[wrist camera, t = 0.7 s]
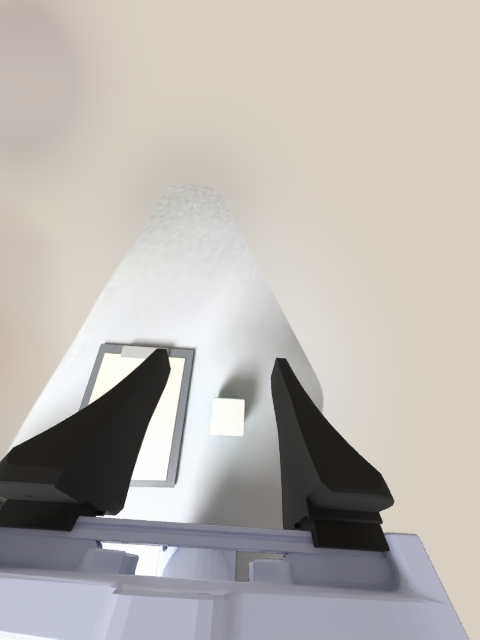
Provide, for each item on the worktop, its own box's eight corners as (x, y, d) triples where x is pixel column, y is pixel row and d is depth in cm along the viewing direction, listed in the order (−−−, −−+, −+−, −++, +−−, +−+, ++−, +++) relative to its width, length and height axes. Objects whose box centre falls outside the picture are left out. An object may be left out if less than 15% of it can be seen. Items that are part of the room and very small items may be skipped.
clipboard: (174, 485, 22) (171, 490, 21) (57, 482, 21) (47, 488, 20) (194, 350, 28) (192, 348, 26) (103, 344, 27) (97, 342, 26)
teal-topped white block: (239, 427, 25) (243, 436, 20) (212, 426, 24) (209, 434, 20) (240, 398, 26) (244, 399, 21) (214, 397, 26) (213, 398, 21)
